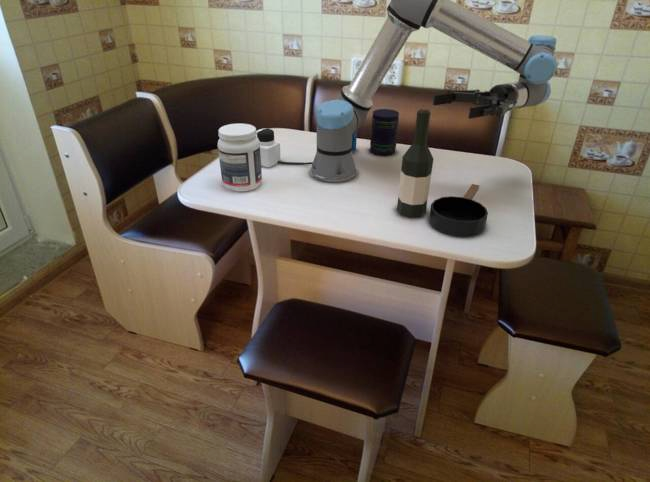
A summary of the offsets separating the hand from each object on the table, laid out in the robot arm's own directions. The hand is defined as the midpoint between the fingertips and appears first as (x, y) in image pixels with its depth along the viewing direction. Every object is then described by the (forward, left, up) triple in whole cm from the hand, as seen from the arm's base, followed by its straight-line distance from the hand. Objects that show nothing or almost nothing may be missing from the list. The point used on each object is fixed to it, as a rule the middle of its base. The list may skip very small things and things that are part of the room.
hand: (451, 106), depth 121 cm
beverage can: (-43, +26, -30) cm, 58 cm away
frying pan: (+9, -3, -29) cm, 31 cm away
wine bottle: (-5, -8, -30) cm, 31 cm away
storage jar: (-31, +32, -30) cm, 53 cm away
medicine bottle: (-62, 0, -30) cm, 69 cm away
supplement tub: (-58, -19, -30) cm, 68 cm away
